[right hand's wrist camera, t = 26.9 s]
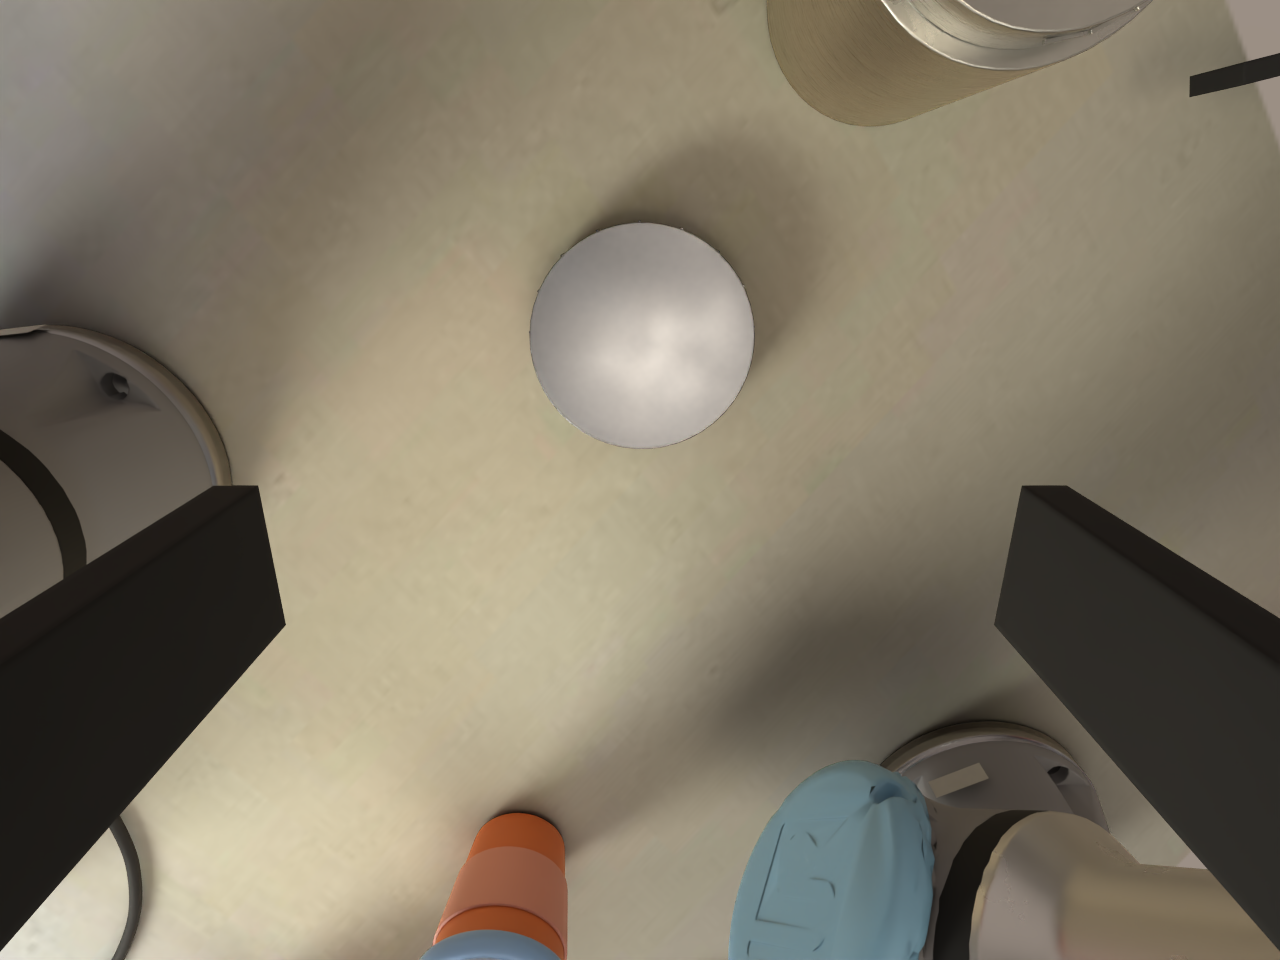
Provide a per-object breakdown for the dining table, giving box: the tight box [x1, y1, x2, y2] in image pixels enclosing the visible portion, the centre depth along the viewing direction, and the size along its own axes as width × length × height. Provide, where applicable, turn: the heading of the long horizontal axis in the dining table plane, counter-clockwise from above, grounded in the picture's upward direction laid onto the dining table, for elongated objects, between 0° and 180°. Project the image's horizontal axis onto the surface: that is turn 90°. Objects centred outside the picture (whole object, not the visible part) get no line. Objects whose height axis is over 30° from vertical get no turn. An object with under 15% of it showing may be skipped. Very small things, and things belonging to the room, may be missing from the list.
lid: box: [529, 220, 755, 449], centre depth 36 cm, size 11×11×2 cm
